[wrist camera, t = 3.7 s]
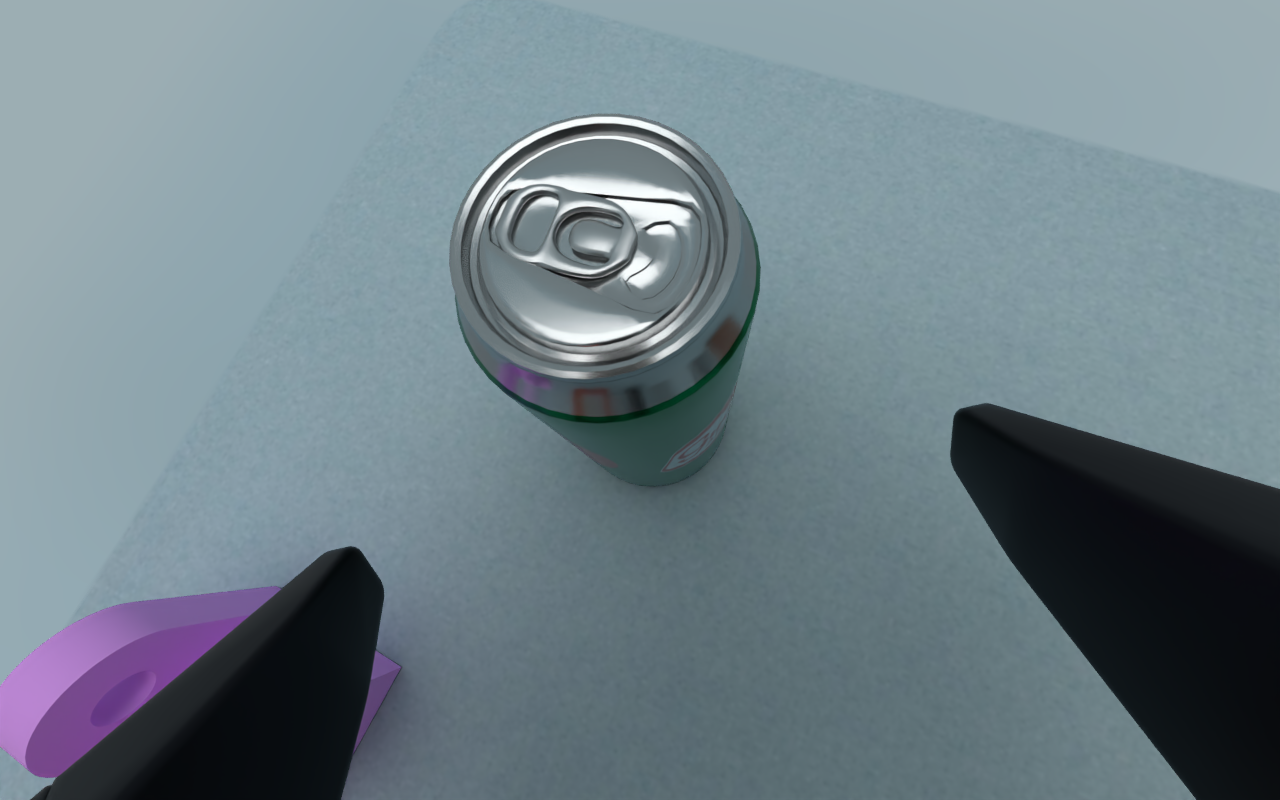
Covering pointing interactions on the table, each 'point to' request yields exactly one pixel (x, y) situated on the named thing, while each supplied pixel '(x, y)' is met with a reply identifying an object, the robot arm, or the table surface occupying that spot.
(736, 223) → the soda can
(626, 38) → the table surface
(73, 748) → the bracket
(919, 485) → the table surface
